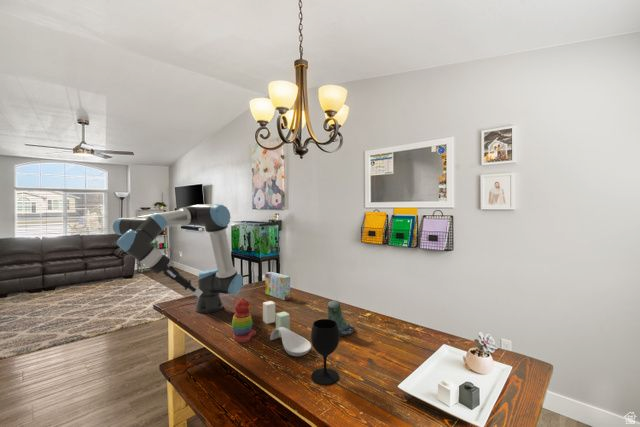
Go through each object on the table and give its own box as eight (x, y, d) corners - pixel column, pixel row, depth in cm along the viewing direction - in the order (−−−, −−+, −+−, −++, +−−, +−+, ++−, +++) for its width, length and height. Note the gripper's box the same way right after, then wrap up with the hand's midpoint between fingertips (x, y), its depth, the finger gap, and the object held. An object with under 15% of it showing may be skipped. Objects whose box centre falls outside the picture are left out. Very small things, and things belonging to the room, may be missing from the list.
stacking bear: (248, 343, 135) (247, 304, 134) (227, 341, 137) (227, 303, 136) (257, 332, 145) (257, 297, 145) (238, 331, 148) (238, 295, 147)
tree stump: (360, 326, 154) (359, 296, 149) (346, 352, 137) (345, 319, 132) (328, 318, 162) (326, 289, 157) (311, 342, 145) (309, 310, 140)
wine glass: (310, 369, 114) (310, 318, 113) (336, 368, 115) (337, 317, 114) (311, 386, 104) (311, 330, 103) (341, 384, 105) (341, 329, 104)
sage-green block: (275, 333, 145) (275, 313, 144) (284, 331, 148) (284, 311, 147) (280, 337, 141) (280, 316, 140) (289, 334, 143) (289, 314, 143)
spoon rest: (316, 353, 126) (316, 337, 126) (295, 364, 118) (295, 346, 118) (283, 335, 143) (283, 320, 143) (262, 343, 135) (262, 328, 135)
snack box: (290, 298, 196) (290, 276, 195) (284, 301, 192) (284, 278, 191) (271, 292, 210) (271, 271, 209) (264, 293, 206) (264, 272, 205)
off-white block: (262, 320, 160) (262, 302, 160) (271, 318, 163) (271, 300, 163) (266, 323, 156) (266, 305, 156) (275, 321, 159) (275, 303, 158)
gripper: (147, 265, 123) (190, 297, 134) (149, 271, 112) (197, 306, 122) (161, 251, 126) (202, 283, 136) (165, 256, 115) (210, 291, 125)
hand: (200, 294), depth 129 cm, fingers closed
